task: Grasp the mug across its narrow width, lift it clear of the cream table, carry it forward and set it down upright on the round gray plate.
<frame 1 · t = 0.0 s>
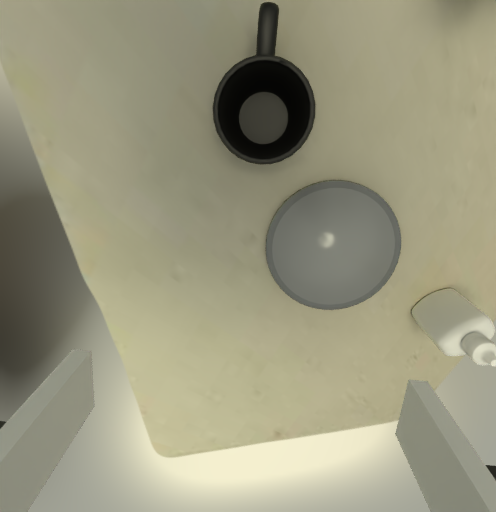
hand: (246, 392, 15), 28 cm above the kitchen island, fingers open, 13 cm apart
mug: (265, 99, 38), on the kitchen island
eye dropper bottle: (433, 304, 44), on the kitchen island
round gray plate: (331, 246, 42), on the kitchen island
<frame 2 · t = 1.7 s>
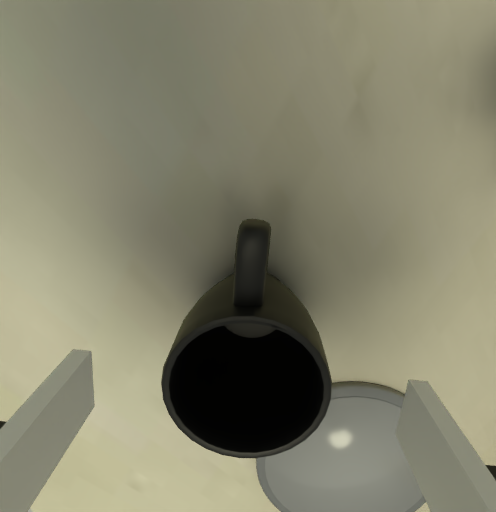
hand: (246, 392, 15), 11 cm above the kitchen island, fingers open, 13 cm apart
mug: (253, 279, 26), on the kitchen island
round gray plate: (347, 458, 31), on the kitchen island
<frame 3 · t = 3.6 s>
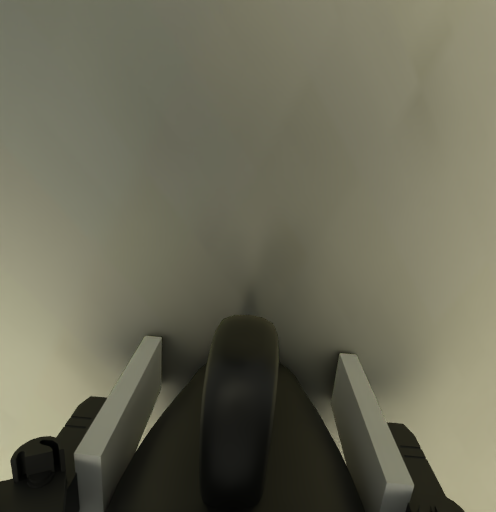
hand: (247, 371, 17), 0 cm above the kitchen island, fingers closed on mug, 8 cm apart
mug: (248, 365, 17), on the kitchen island, touching gripper
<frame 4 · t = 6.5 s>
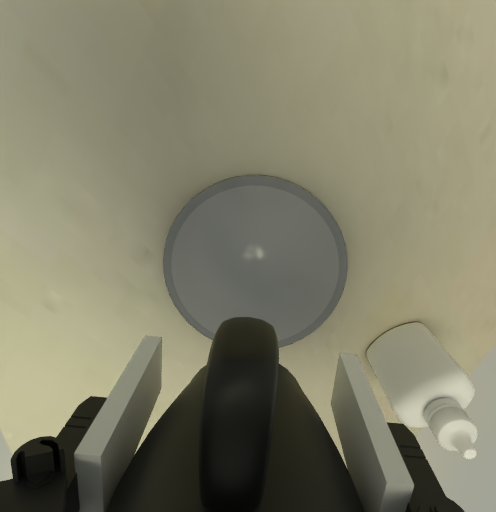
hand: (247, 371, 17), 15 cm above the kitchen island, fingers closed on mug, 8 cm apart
mug: (248, 366, 17), point 14 cm above the kitchen island, touching gripper
eye dropper bottle: (396, 343, 33), on the kitchen island
round gray plate: (254, 266, 31), on the kitchen island
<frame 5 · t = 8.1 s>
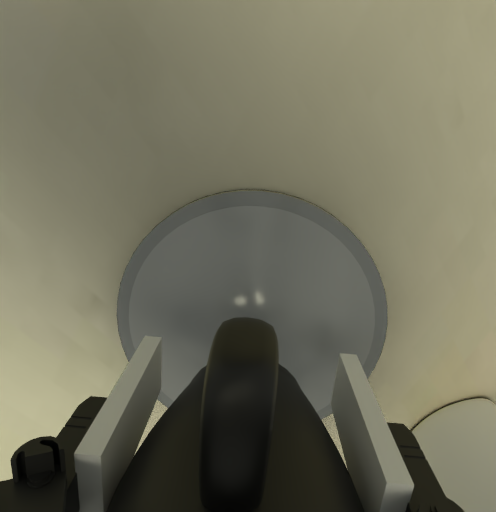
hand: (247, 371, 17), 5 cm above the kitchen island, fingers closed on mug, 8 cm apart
mug: (248, 366, 17), point 4 cm above the kitchen island, touching gripper
eye dropper bottle: (450, 423, 23), on the kitchen island
round gray plate: (250, 320, 21), on the kitchen island
when the fingers open (2 cm above the kitchen island, at t = 9.5 s): mug drops 1 cm, resting on round gray plate.
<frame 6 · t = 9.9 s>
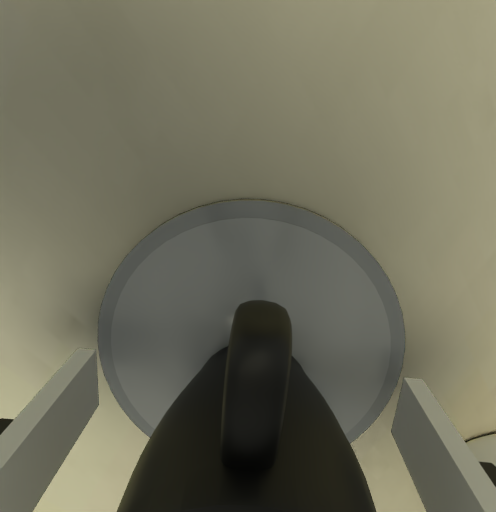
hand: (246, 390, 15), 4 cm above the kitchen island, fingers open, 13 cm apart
mug: (256, 354, 18), point 1 cm above the kitchen island, touching round gray plate
eye dropper bottle: (473, 459, 21), on the kitchen island
round gray plate: (249, 345, 19), on the kitchen island
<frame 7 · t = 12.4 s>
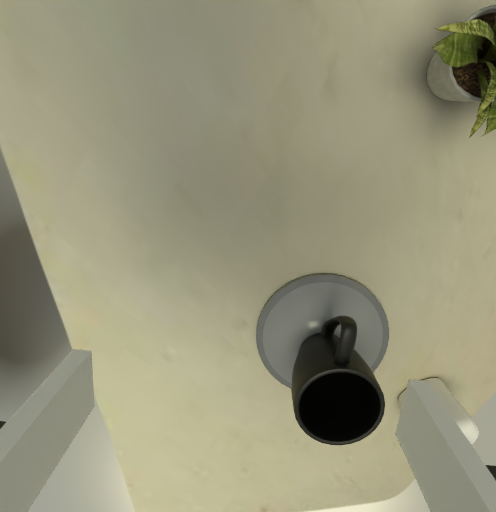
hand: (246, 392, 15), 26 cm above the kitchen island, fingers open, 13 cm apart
mug: (325, 338, 42), point 1 cm above the kitchen island, touching round gray plate
eye dropper bottle: (420, 391, 45), on the kitchen island
house plant: (440, 81, 36), on the kitchen island
round gray plate: (321, 334, 43), on the kitchen island
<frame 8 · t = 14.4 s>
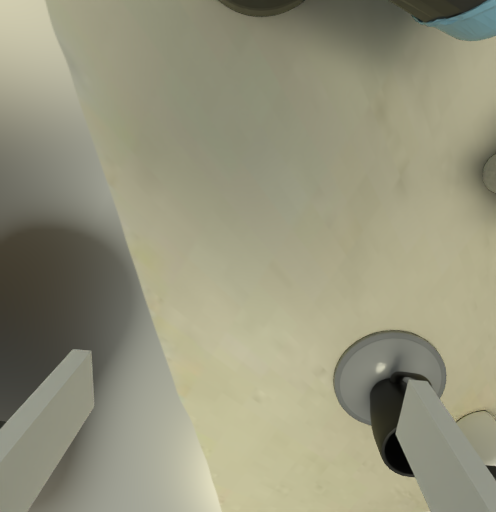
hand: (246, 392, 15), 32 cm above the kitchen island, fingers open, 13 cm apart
mug: (392, 382, 51), point 1 cm above the kitchen island, touching round gray plate
eye dropper bottle: (470, 422, 53), on the kitchen island
house plant: (493, 178, 43), on the kitchen island
round gray plate: (388, 378, 51), on the kitchen island
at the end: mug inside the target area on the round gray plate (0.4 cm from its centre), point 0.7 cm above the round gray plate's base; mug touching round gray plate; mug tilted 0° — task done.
